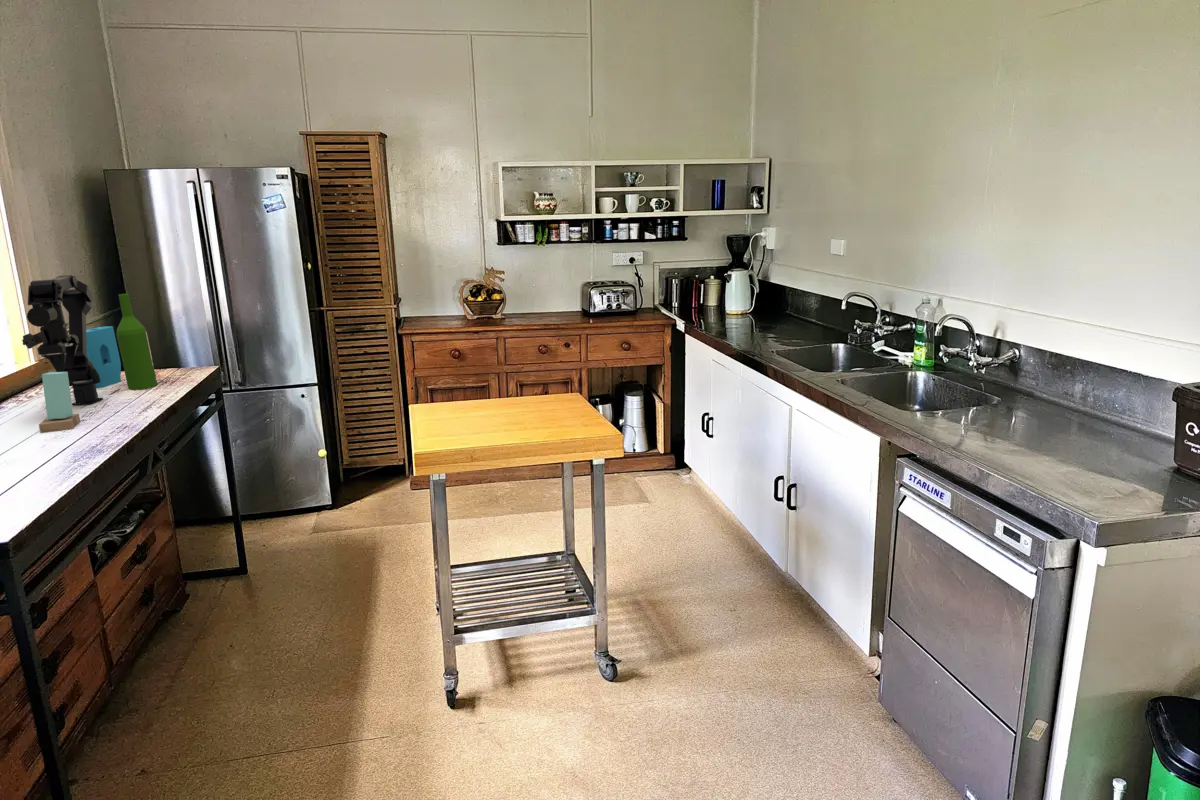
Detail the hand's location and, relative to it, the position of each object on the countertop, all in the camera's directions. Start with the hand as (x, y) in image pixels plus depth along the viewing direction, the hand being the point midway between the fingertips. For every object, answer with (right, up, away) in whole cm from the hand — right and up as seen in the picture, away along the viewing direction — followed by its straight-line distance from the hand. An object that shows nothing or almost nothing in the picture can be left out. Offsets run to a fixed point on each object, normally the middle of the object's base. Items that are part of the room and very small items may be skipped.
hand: (65, 371), depth 237 cm
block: (-13, -3, +40) cm, 42 cm away
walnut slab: (+7, -17, -12) cm, 22 cm away
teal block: (+7, -14, -12) cm, 20 cm away
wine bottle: (+4, -4, +33) cm, 34 cm away
